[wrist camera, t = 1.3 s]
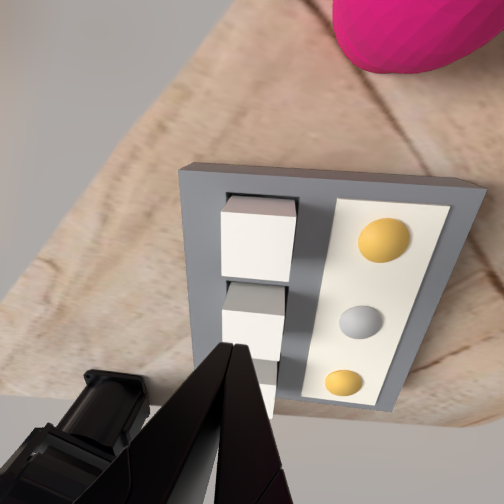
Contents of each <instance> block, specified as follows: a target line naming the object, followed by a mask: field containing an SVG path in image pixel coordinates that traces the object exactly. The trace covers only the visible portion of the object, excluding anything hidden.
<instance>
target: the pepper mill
mask: <svg viewBox="0 0 504 504" xmlns="http://www.w3.org/2000/svg"><path fill="white" fill-rule="evenodd" d="M333 26H334V31H335V35H336V38H337V41H338V44H339V46H340V47H341V49H342V51H343V52H344V54H345V55H346V56H347V57H348V59H349V60H350V61H351V62H352V63H353V64H355V65H356V66H358V67H359V68H361V69H363V70H366V71H370V72H374V73H391V72H394V73H405V74H413V73H421V72H427V71H432V70H435V69H438V68H440V67H443V66H446V65H448V64H450V63H452V62H454V61H456V60H458V59H460V58H462V57H464V56H466V55H468V54H470V53H472V52H473V51H475V50H477V49H478V48H480V47H482V46H483V45H485V44H486V43H488V42H489V41H490V40H491V39H493V38H494V37H495V36H496V35H498V34H499V33H500V32H501V31H503V30H504V0H333Z"/></svg>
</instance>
